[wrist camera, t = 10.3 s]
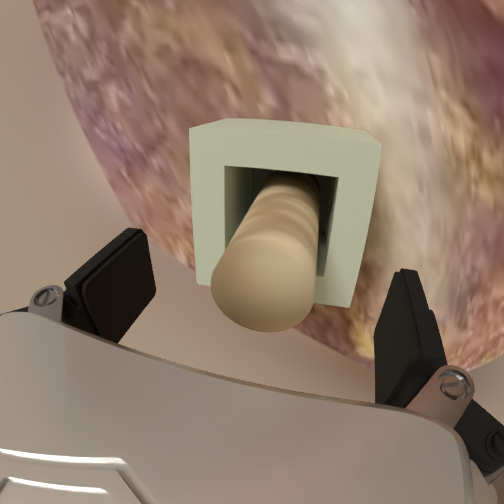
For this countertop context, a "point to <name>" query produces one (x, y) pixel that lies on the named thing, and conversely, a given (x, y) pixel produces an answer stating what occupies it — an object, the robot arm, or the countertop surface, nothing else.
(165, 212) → the countertop surface
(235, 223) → the socket block
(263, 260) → the peg
